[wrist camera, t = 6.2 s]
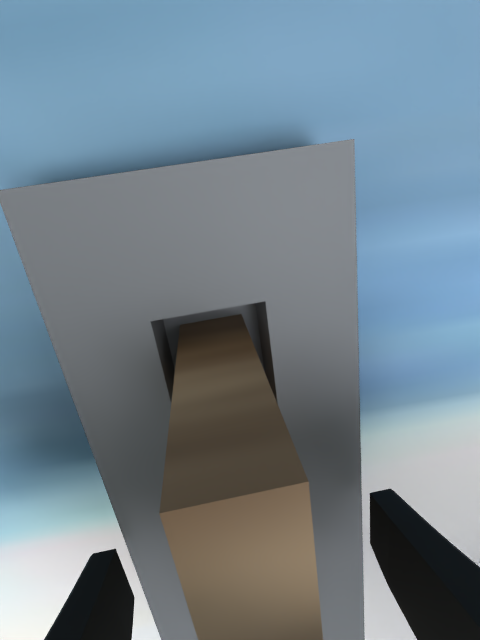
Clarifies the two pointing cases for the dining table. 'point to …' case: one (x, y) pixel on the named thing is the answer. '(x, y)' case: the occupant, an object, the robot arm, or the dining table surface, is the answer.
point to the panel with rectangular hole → (199, 305)
